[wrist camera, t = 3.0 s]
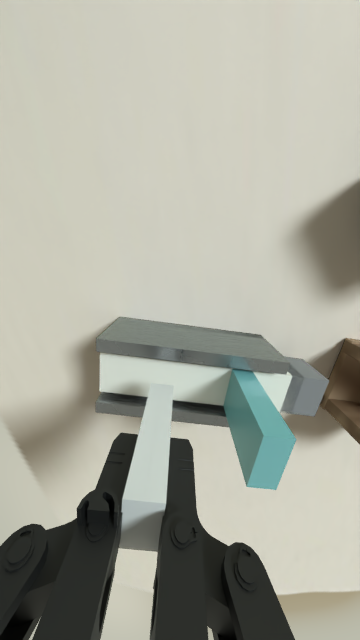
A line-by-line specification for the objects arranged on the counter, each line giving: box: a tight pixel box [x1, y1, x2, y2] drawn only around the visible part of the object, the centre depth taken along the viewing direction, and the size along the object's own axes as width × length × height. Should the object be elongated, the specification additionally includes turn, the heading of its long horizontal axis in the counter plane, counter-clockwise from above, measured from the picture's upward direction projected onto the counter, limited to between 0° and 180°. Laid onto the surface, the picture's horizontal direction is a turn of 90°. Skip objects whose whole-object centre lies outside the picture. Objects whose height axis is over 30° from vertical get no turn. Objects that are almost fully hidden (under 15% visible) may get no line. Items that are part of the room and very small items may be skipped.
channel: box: [96, 317, 290, 427], centre depth 17 cm, size 6×14×6 cm, turn 82°
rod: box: [99, 352, 329, 490], centre depth 14 cm, size 4×18×10 cm, turn 82°
